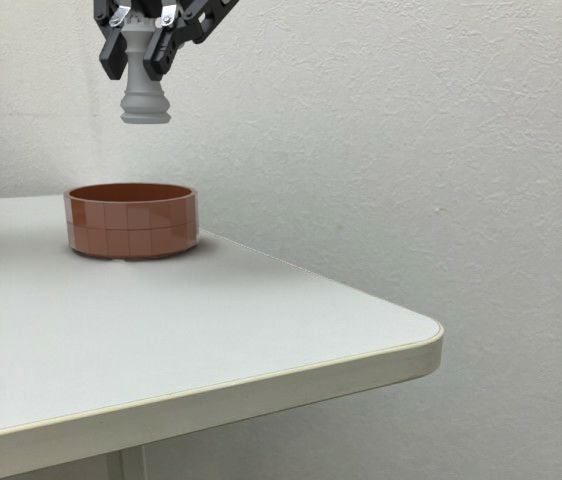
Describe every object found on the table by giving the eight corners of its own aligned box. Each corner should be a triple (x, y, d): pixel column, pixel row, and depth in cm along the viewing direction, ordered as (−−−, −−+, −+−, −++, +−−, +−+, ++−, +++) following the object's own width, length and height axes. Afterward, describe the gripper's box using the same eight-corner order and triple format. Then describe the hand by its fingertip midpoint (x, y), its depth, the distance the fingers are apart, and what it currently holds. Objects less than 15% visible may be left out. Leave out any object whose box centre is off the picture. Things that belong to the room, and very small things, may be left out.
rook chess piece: (181, 122, 59) (176, 20, 55) (155, 125, 55) (149, 16, 52) (137, 120, 60) (130, 21, 57) (109, 123, 56) (100, 16, 53)
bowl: (42, 254, 70) (34, 196, 68) (115, 228, 83) (111, 179, 80) (160, 267, 66) (156, 206, 64) (219, 239, 78) (217, 187, 76)
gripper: (105, -112, 58) (33, 35, 53) (253, -124, 54) (191, 34, 49) (141, -33, 65) (80, 104, 60) (275, -39, 61) (222, 109, 55)
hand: (130, 72), depth 54 cm, fingers closed on rook chess piece, 3 cm apart
